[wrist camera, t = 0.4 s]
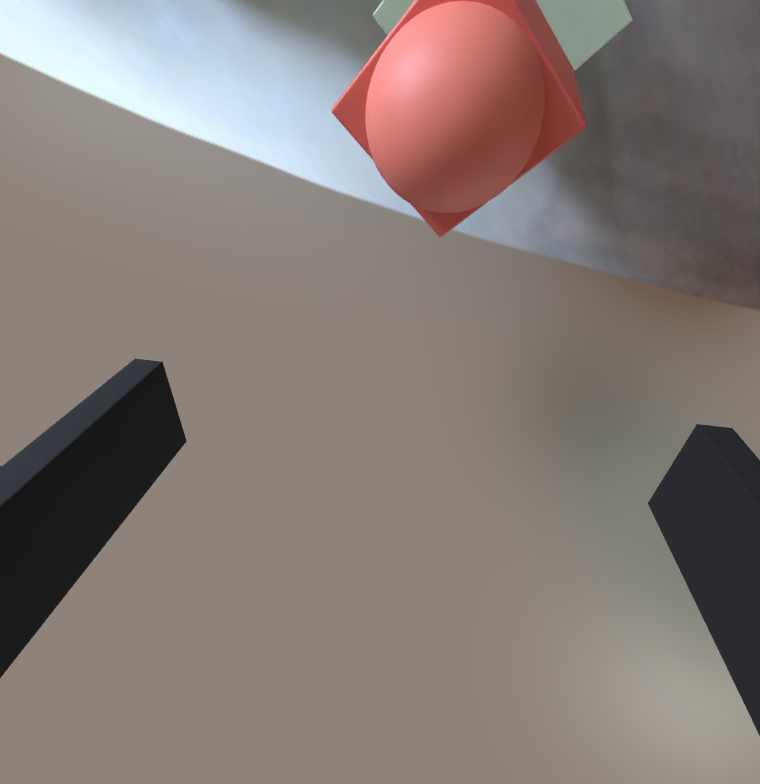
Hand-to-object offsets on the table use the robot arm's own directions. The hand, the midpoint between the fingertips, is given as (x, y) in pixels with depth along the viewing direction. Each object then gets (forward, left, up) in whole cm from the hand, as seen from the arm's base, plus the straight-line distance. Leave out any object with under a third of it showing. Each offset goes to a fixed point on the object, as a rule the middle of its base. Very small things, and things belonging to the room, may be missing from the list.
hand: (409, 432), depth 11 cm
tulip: (-3, -6, -27) cm, 28 cm away
